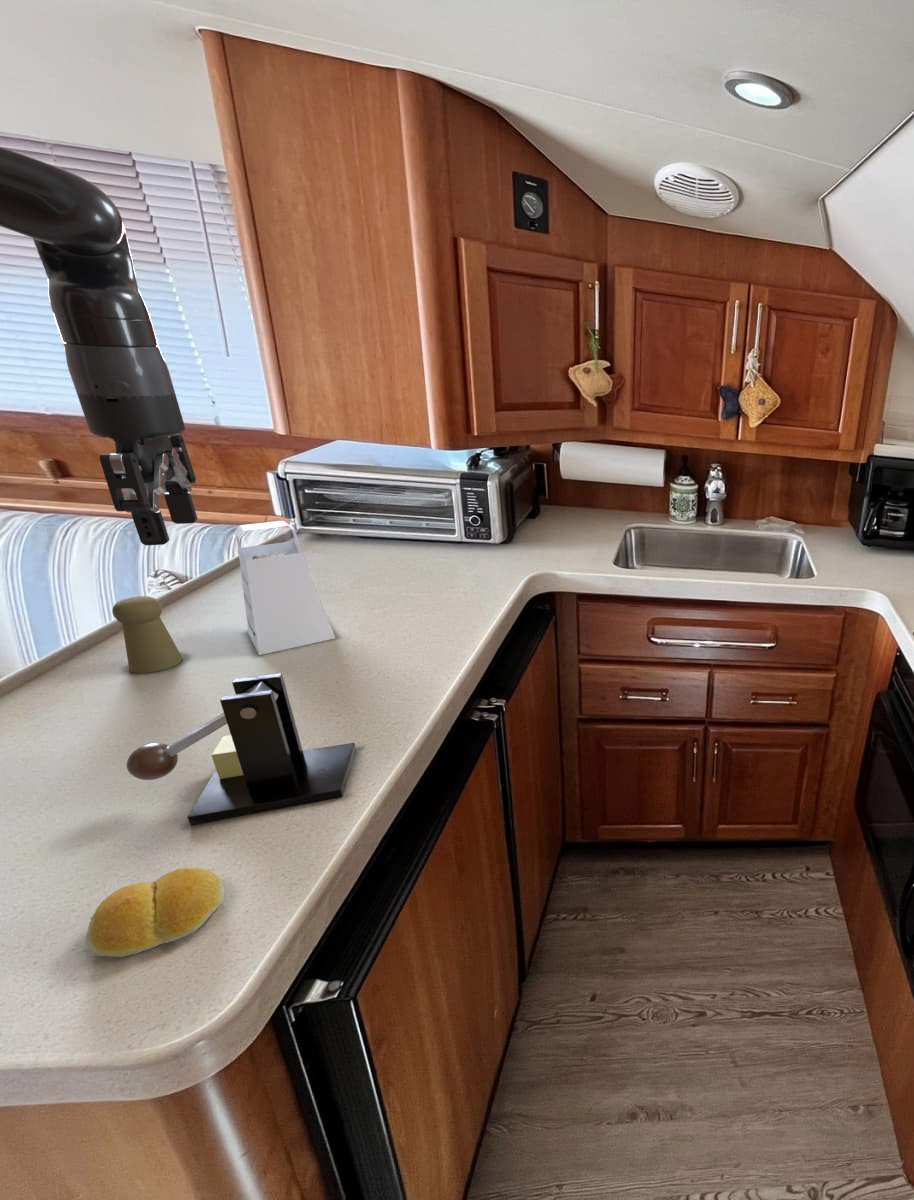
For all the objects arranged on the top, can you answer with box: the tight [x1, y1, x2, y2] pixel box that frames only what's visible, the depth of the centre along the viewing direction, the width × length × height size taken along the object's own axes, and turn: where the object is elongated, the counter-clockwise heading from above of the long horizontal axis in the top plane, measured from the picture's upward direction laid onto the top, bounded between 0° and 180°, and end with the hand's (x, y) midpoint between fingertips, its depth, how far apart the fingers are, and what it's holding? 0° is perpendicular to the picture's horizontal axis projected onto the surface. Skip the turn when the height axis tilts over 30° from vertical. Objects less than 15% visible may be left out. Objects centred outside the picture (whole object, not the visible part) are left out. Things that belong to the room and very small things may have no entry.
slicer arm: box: [126, 682, 279, 781], centre depth 71 cm, size 15×4×4 cm
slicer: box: [187, 673, 357, 826], centre depth 74 cm, size 14×10×14 cm
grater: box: [234, 520, 336, 656], centre depth 107 cm, size 10×10×20 cm
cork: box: [111, 595, 184, 674], centre depth 97 cm, size 6×6×11 cm
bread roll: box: [85, 867, 225, 958], centre depth 59 cm, size 8×9×4 cm
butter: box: [211, 734, 243, 779], centre depth 77 cm, size 4×4×4 cm
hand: (171, 533), depth 74 cm, fingers open, 8 cm apart
